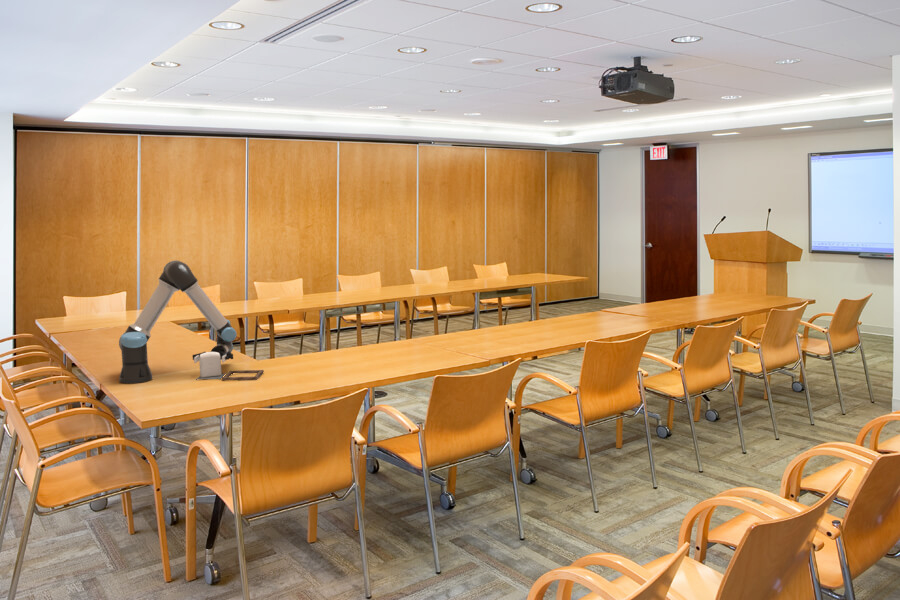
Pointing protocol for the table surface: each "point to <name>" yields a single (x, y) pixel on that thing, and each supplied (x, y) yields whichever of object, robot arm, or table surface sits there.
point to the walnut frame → (259, 373)
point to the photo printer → (210, 364)
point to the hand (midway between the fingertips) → (208, 359)
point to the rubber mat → (212, 377)
